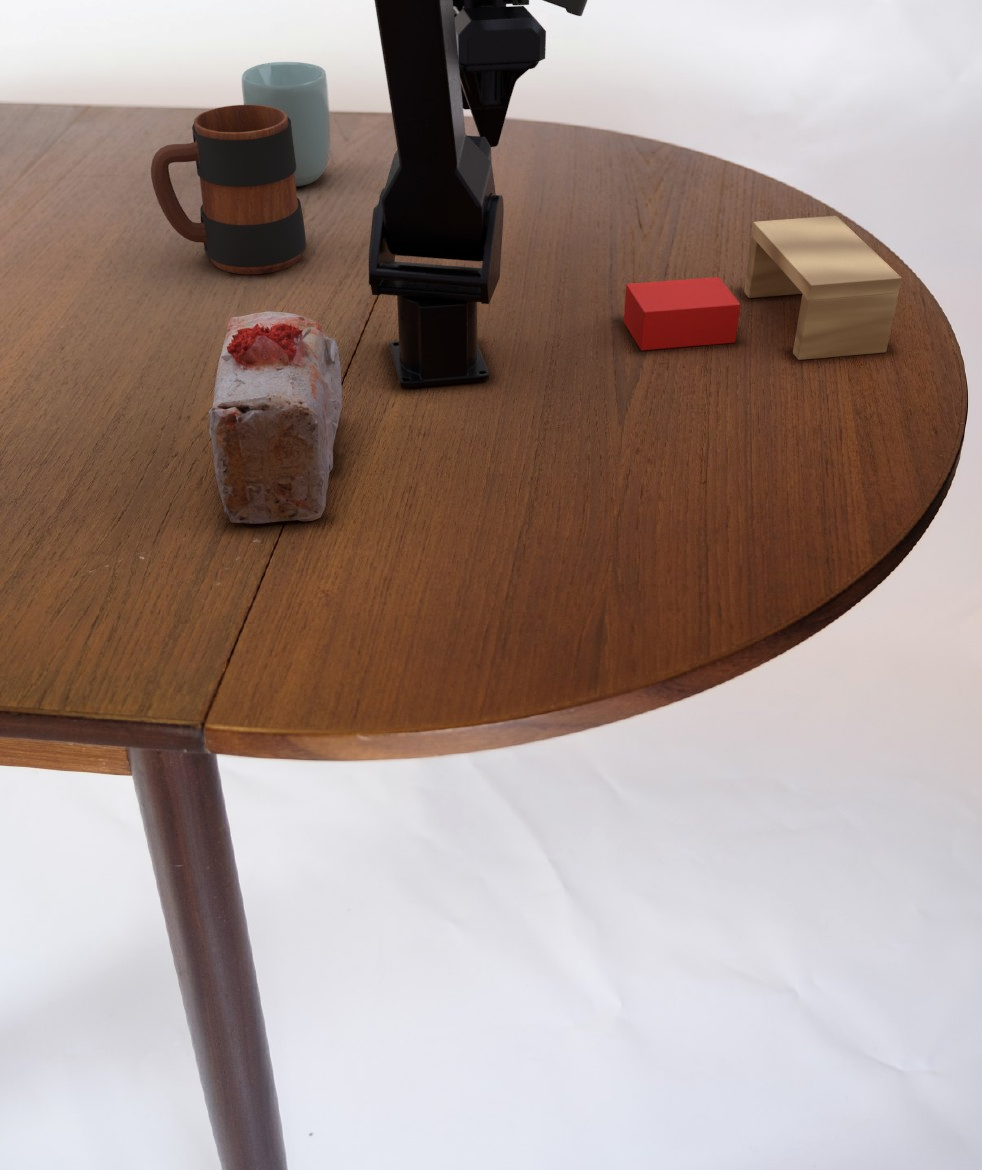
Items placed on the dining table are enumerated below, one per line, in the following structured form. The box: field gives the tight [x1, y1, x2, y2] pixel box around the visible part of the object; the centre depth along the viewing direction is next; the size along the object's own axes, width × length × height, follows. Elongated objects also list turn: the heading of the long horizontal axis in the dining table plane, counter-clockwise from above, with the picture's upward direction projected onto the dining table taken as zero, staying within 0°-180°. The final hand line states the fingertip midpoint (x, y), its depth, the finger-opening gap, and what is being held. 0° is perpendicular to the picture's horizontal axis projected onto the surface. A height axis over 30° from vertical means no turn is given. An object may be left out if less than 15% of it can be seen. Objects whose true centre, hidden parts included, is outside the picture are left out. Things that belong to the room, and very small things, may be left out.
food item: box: [208, 310, 343, 525], centre depth 80 cm, size 14×8×10 cm, turn 6°
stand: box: [743, 215, 903, 361], centre depth 99 cm, size 12×7×6 cm, turn 11°
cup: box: [241, 61, 331, 188], centre depth 121 cm, size 8×8×10 cm
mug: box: [150, 104, 307, 275], centre depth 106 cm, size 9×12×12 cm
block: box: [623, 276, 741, 351], centre depth 98 cm, size 8×5×3 cm, turn 101°
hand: (479, 127), depth 100 cm, fingers open, 9 cm apart
